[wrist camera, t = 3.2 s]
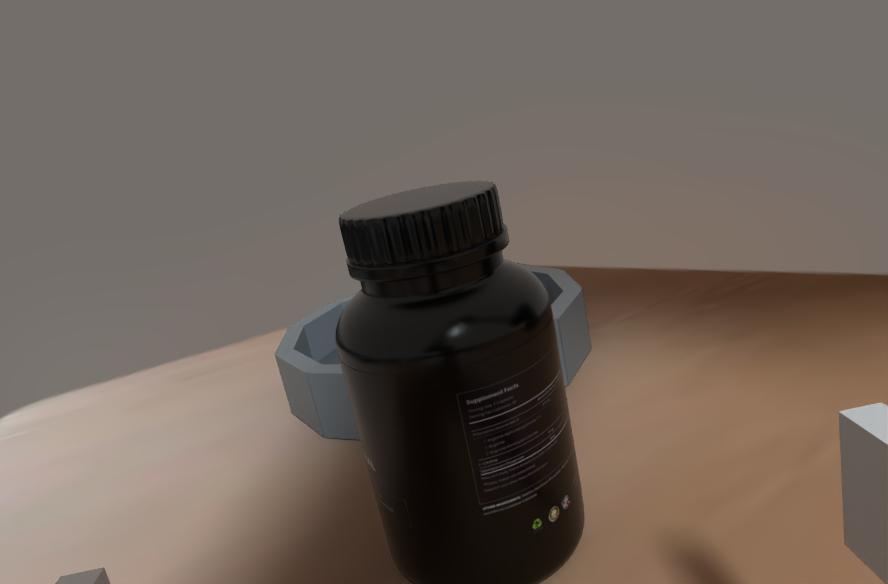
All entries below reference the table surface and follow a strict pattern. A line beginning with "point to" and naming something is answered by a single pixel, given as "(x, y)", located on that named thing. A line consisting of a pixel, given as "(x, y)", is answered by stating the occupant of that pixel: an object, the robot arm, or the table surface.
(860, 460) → the robot arm
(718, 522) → the table surface
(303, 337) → the bowl
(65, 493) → the table surface
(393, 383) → the supplement bottle
